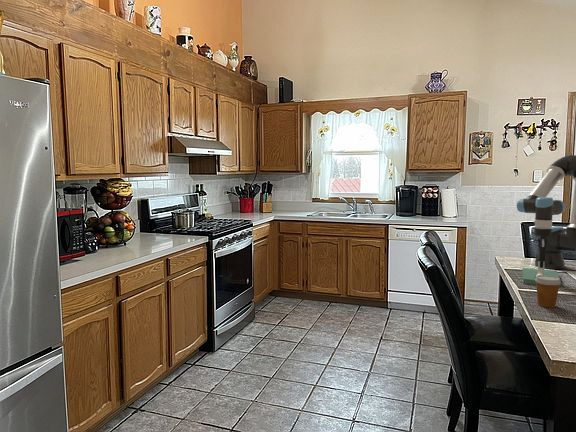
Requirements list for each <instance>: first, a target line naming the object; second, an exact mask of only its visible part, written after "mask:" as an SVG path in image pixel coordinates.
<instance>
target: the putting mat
mask: <svg viewBox="0 0 576 432" xmlns="http://www.w3.org/2000/svg"><path fill="white" fill-rule="evenodd" d="M521 272H522V283H523V285H531V286H536V281H535V279H536V275H537V274H538V268H527V267H522V271H521ZM543 275H548V276H555V277H558V278H560V276H559V274H558V271H557V270H555V269H544V274H543ZM561 287H562V282H561V283H560V285H559V288H561Z"/></svg>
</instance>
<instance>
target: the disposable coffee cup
mask: <svg viewBox="0 0 576 432" xmlns="http://www.w3.org/2000/svg"><path fill="white" fill-rule="evenodd" d="M535 281H536V285H535V286H536V296H537V305H538V306H539V307H542V306H544V307H543V308H549V307H551V308H555V307H556V305H557V299H558V296H559V295H558V294H559V289H560V287H559V285H560V283H561V284H562V280H561V279H560V277H559V278H558V277H555V276H548V275H538V276H536V279H535Z"/></svg>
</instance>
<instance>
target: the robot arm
mask: <svg viewBox="0 0 576 432" xmlns="http://www.w3.org/2000/svg"><path fill="white" fill-rule="evenodd" d="M569 176H570V177H572V180H574V182H575V184H574V190H573V191H574V192H573V199H572V207H571V215H570V222H569V224H568V225H567V226H566V228H565V227H563V226H553V216H559V215H561V214H563V213H565V211H566V210H567V205H566V204H565V203H566V202H564V201H563V200H560V199H553V198H552V197H549V196H548V195H549V194H550V193H551V192H552V190H553V189H554V188H555V186H556V185H557V184H558V183H559V181H561V180H563V179H564V178H565V177H569ZM547 196H548V197H547ZM516 209H517V211H518V212H519V213H523V214H524V213H525V214H535V217H534V221H533V223H534V227H535V228H534V236H537V237H539V238H537V243H538V244H537V246H538V254H537V256H536V258H535V260H534V266H536V267H537V269H538V274H539V273H541V274H544V270H545V269H548V270H561V269H562V270H563V269H565V267H566V262H565V260H564V257H563V251H565V252H572V253H573V252H574V253H576V154H571V155H565V156H562V157H561V158H558V159H557V160H555V161H554V162H553V163H551V164H550V165H549V167H547V169H546V173H545V174H544V175H543V176H542V178H541V179H540V180H539V182H538V183H537V184H536V185H535V186H534V188H533V190H532V191H530V192H529V194H528V195H527V197H526V198H520V199H518V200H517V202H516ZM564 228H565V229H564Z"/></svg>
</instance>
